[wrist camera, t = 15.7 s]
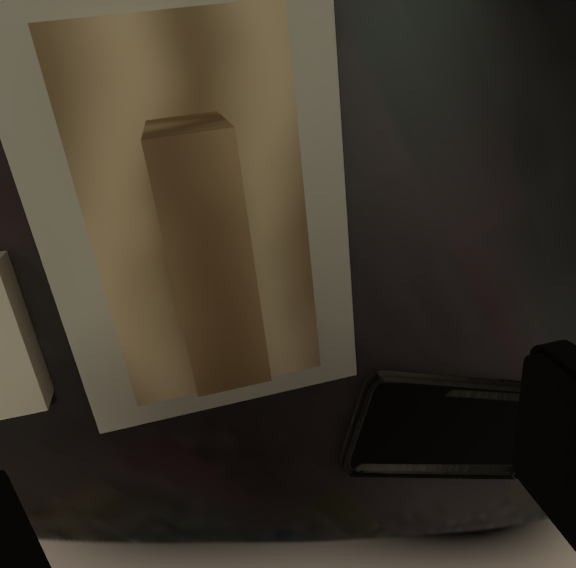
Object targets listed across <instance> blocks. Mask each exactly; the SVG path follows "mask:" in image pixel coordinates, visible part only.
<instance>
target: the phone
mask: <svg viewBox="0 0 576 568" xmlns="http://www.w3.org/2000/svg"><path fill="white" fill-rule="evenodd" d="M520 388H521V382H520V381H511V380H494V379H483V378H471V377H459V376H448V375H436V374H424V373H412V372H401V371H389V370H380V371H377V372H374V373H373V374H371V375H370V376H369V377H368V378H367V379H366V380H365V382H364V384H363V386H362V389H361V392H360V395H359V399H358V402H357V405H356V408H355V411H354V414H353V417H352V420H351V423H350V426H349V429H348V432H347V435H346V438H345V442H344V445H343V448H342V451H341V454H340V462H341V464H342V467H343V469H344V471H345V472H346V473H347V474H348V475H350V476H354V477H402V478H463V479H518V478H517V476H516V474H515V472H514V469H513V465H512V455H513V447H514V438H515V430H516V421H517V413H518V405H519V396H520ZM361 395H362V396H361ZM356 414H357V417H356ZM355 417H356V420H355ZM354 420H355V423H354ZM353 423H354V426H353Z"/></svg>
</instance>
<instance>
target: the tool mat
mask: <svg viewBox="0 0 576 568" xmlns="http://www.w3.org/2000/svg"><path fill="white" fill-rule="evenodd" d="M239 1H249V0H0V139H1V142H2V145H3V148H4V151H5V154H6V157H7V160H8V163H9V166H10V169H11V172H12V175H13V177H14V180H15V183H16V186H17V189H18V192H19V195H20V198H21V201H22V204H23V207H24V210H25V213H26V216H27V219H28V222H29V225H30V228H31V231H32V234H33V237H34V240H35V243H36V246H37V249H38V252H39V255H40V258H41V261H42V264H43V267H44V269H45V272H46V275H47V278H48V281H49V284H50V287H51V290H52V293H53V296H54V299H55V302H56V305H57V308H58V311H59V314H60V317H61V320H62V323H63V326H64V329H65V332H66V335H67V338H68V341H69V344H70V347H71V350H72V353H73V356H74V358H75V361H76V364H77V367H78V370H79V373H80V376H81V379H82V382H83V385H84V388H85V391H86V394H87V397H88V400H89V403H90V406H91V409H92V412H93V415H94V418H95V421H96V424H97V427H98V430H99V433H100V434H102V433H106V432H111V431H115V430H119V429H124V428H128V427H132V426H137V425H141V424H145V423H150V422H154V421H158V420H163V419H167V418H171V417H176V416H180V415H184V414H189V413H193V412H197V411H202V410H206V409H210V408H215V407H219V406H223V405H228V404H232V403H237V402H241V401H245V400H250V399H254V398H258V397H263V396H267V395H271V394H276V393H280V392H284V391H289V390H293V389H297V388H302V387H306V386H310V385H315V384H319V383H323V382H328V381H332V380H336V379H341V378H345V377H349V376H354V375H357V370H356V354H355V338H354V322H353V306H352V290H351V274H350V258H349V242H348V226H347V210H346V193H345V177H344V161H343V145H342V129H341V113H340V97H339V81H338V65H337V49H336V33H335V17H334V1H333V0H286V6H287V16H288V27H289V37H290V48H291V58H292V69H293V79H294V90H295V100H296V111H297V121H298V132H299V142H300V153H301V163H302V174H303V184H304V195H305V205H306V216H307V226H308V237H309V247H310V258H311V268H312V279H313V289H314V300H315V310H316V321H317V331H318V342H319V352H320V363H321V366H318V367H313V368H309V369H304V370H300V371H295V372H291V373H286V374H282V375H277V376H273V377H271V379H272V381H268V382H264V383H259V384H255V385H250V386H246V387H242V388H237V389H233V390H228V391H224V392H219V393H215V394H210V395H206V396H201V397H198V395H197V394H192V395H188V396H183V397H179V398H174V399H170V400H165V401H161V402H156V403H152V404H147V405H143V406H137V403H136V399H135V396H134V392H133V389H132V385H131V382H130V378H129V375H128V371H127V368H126V364H125V361H124V358H123V354H122V351H121V347H120V344H119V340H118V337H117V333H116V330H115V326H114V323H113V319H112V316H111V312H110V309H109V305H108V302H107V298H106V295H105V291H104V288H103V284H102V281H101V277H100V274H99V270H98V267H97V263H96V260H95V256H94V253H93V249H92V246H91V242H90V239H89V235H88V232H87V228H86V225H85V221H84V218H83V215H82V211H81V208H80V204H79V201H78V197H77V194H76V190H75V187H74V183H73V180H72V176H71V173H70V169H69V166H68V162H67V159H66V155H65V152H64V148H63V145H62V141H61V138H60V134H59V131H58V127H57V124H56V120H55V117H54V113H53V110H52V106H51V103H50V99H49V96H48V92H47V89H46V85H45V82H44V79H43V75H42V72H41V68H40V65H39V61H38V58H37V54H36V51H35V47H34V44H33V40H32V37H31V33H30V30H29V26H28V23H33V22H43V21H53V20H63V19H73V18H82V17H92V16H102V15H112V14H122V13H131V12H141V11H151V10H161V9H171V8H180V7H190V6H200V5H210V4H220V3H230V2H239Z"/></svg>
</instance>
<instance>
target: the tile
mask: <svg viewBox="0 0 576 568" xmlns="http://www.w3.org/2000/svg"><path fill="white" fill-rule="evenodd" d="M53 393H54V388H53V385H52V382H51V379H50V376H49V373H48V370H47V367H46V364H45V361H44V358H43V355H42V352H41V349H40V346H39V344H38V341H37V338H36V335H35V332H34V329H33V326H32V323H31V320H30V317H29V314H28V311H27V308H26V305H25V302H24V299H23V296H22V294H21V291H20V288H19V285H18V282H17V279H16V276H15V273H14V270H13V267H12V264H11V261H10V258H9V255H8V252H7V251H2V252H0V420H3V419H8V418H13V417H18V416H23V415H28V414H33V413H38V412H42V411H47V410H48V408H49V405H50V402H51V399H52V396H53Z"/></svg>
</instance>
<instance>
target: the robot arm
mask: <svg viewBox="0 0 576 568" xmlns="http://www.w3.org/2000/svg"><path fill="white" fill-rule="evenodd" d="M512 465H513V469H514V472H515V474H516V476H517V478H518V479H519V481H520V482H521V484H522V485H523V486H524V487H525V489H526V490H527V491H528V492H529V494H530V495H531V496H532V497H533V499H534V500H535V501H536V502H537V504H538V505H539V506H540V507H541V509H542V510H543V511H544V512H545V514H546V515H547V516H548V517H549V519H550V520H551V521H552V522H553V524H554V525H555V526H556V527H557V529H558V530H559V531H560V532H561V534H562V535H563V536H564V537H565V539H566V540H567V541H568V543H569V544H570V545H571V546H572V548H573V549H574V550H575V551H576V345H574V344H573V343H571V342H569V341H568V340H559V341H555V342H550V343H545V344H541V345H537V346H534V347H533V348H532V349H531V352H530V355H528V356H526V357H525V359H524V363H523V371H522V380H521V388H520V396H519V405H518V413H517V421H516V430H515V438H514V447H513V455H512ZM0 568H51V566H50V564H49V562H48V560H47V558H46V556H45V553H44V551H43V549H42V547H41V545H40V543H39V541H38V539H37V536H36V534H35V532H34V530H33V528H32V526H31V524H30V522H29V520H28V517H27V515H26V513H25V511H24V509H23V507H22V505H21V503H20V500H19V498H18V496H17V494H16V492H15V490H14V488H13V486H12V483H11V481H10V479H9V477H8V475H7V474H6V472H5V471H3V470H0Z"/></svg>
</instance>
